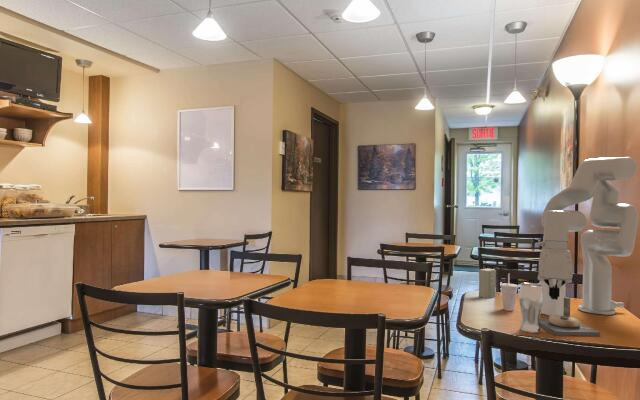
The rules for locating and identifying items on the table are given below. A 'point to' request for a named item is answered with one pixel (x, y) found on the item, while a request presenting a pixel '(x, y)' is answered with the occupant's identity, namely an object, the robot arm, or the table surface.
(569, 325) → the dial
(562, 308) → the milk
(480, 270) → the skincare box
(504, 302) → the smoothie
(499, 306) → the table surface
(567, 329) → the board
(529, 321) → the beer glass
